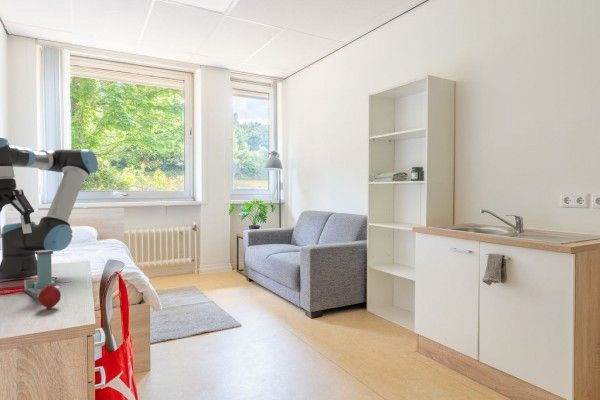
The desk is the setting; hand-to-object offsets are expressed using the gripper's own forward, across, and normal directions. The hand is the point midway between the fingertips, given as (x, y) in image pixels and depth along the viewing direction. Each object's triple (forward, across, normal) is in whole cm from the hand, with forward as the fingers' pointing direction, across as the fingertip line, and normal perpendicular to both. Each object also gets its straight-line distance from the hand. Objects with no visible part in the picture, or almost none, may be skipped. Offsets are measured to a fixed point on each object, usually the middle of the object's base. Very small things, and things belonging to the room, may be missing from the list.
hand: (12, 236), depth 137 cm
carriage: (+20, +15, -5) cm, 26 cm away
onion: (+25, +28, -16) cm, 41 cm away
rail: (+22, +12, -3) cm, 25 cm away
